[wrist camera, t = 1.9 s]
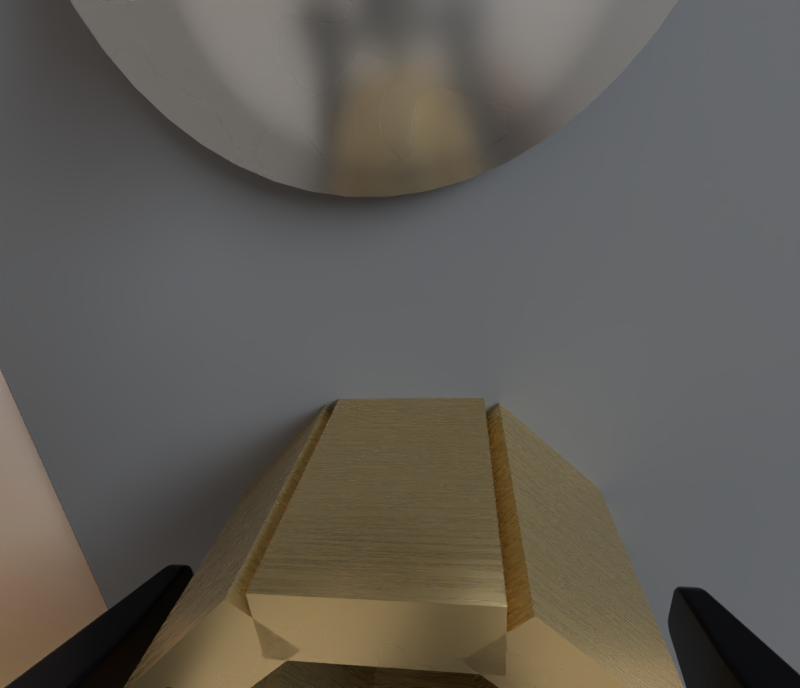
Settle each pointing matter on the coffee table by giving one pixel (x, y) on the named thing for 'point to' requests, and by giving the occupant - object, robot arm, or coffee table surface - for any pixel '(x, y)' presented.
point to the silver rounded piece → (371, 79)
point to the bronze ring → (414, 566)
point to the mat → (422, 304)
